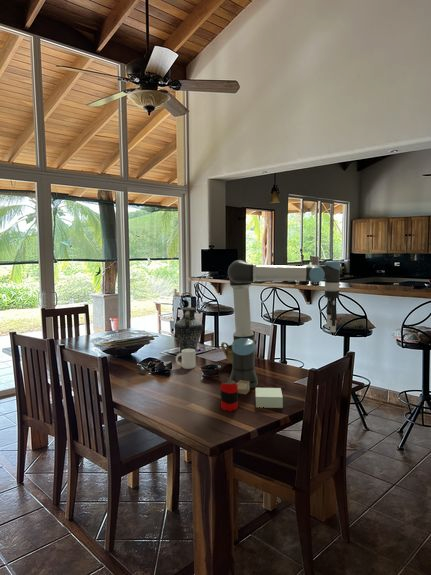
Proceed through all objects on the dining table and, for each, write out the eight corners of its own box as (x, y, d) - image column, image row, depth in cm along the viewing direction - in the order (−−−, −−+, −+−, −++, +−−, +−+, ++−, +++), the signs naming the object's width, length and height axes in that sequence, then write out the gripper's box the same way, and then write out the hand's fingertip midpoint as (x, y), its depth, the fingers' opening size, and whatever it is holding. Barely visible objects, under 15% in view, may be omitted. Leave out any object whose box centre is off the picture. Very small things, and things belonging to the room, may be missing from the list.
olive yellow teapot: (249, 359, 272) (249, 335, 271) (261, 366, 257) (261, 341, 255) (217, 363, 264) (216, 339, 263) (227, 370, 249) (227, 345, 247)
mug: (177, 370, 250) (176, 353, 249) (174, 366, 258) (174, 349, 257) (196, 368, 254) (196, 351, 253) (193, 364, 262) (193, 348, 260)
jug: (174, 348, 302) (173, 306, 299) (202, 347, 304) (201, 305, 301) (175, 355, 282) (174, 311, 278) (204, 354, 284) (203, 310, 280)
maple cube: (246, 394, 210) (245, 384, 210) (236, 393, 212) (236, 383, 212) (249, 391, 215) (249, 381, 214) (239, 389, 217) (239, 380, 216)
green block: (255, 407, 193) (255, 396, 193) (255, 397, 205) (255, 387, 205) (282, 407, 192) (282, 397, 192) (280, 398, 204) (280, 388, 204)
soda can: (224, 403, 198) (224, 378, 197) (240, 406, 195) (239, 380, 194) (218, 409, 191) (218, 383, 190) (234, 412, 188) (234, 385, 187)
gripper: (343, 293, 215) (342, 334, 217) (335, 287, 239) (334, 324, 241) (328, 292, 215) (327, 334, 218) (321, 287, 240) (320, 324, 242)
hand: (331, 329), depth 230 cm, fingers open, 13 cm apart
